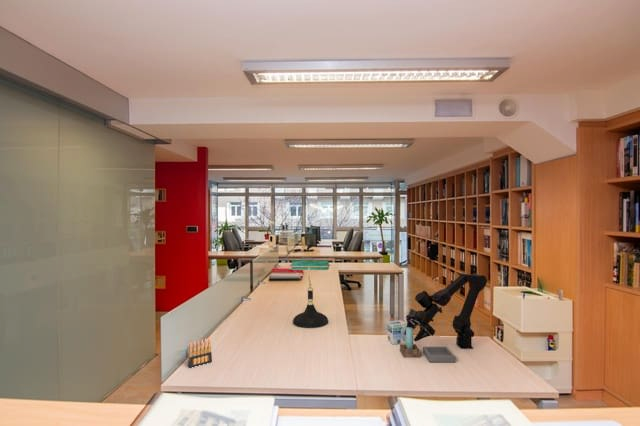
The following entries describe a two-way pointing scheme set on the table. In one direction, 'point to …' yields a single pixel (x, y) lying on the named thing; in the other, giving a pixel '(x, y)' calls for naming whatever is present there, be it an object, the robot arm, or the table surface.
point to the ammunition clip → (199, 353)
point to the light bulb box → (397, 331)
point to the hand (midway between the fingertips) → (409, 337)
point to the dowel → (409, 338)
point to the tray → (438, 355)
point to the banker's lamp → (310, 296)
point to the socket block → (409, 351)
